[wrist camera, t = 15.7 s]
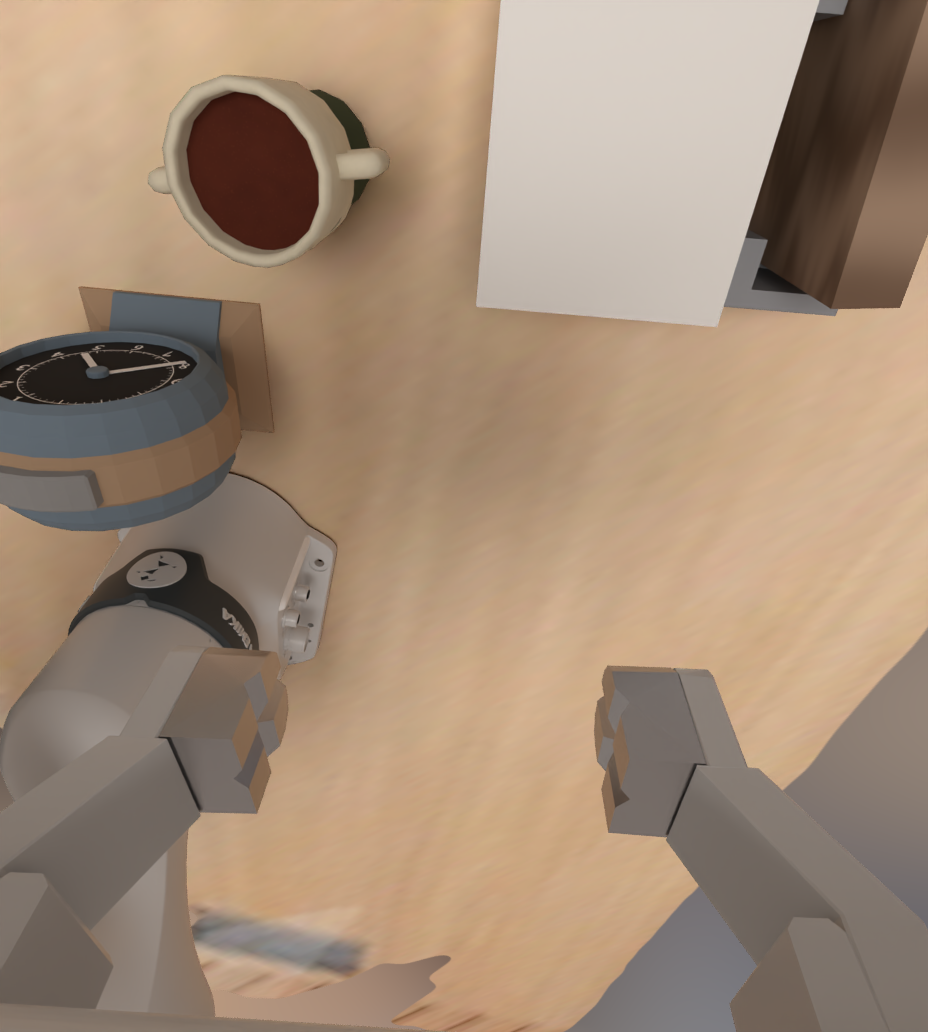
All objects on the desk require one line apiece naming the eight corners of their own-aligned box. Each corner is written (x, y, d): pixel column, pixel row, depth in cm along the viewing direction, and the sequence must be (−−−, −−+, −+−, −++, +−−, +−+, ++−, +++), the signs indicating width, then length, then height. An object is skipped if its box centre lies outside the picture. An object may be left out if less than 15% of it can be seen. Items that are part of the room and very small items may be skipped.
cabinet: (785, 283, 39) (872, 340, 30) (480, 257, 39) (476, 306, 30) (907, -53, 30) (1086, -118, 21) (509, -88, 30) (514, -168, 21)
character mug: (249, 225, 38) (153, 276, 28) (214, 88, 34) (87, 86, 24) (418, 213, 38) (386, 261, 27) (403, 71, 33) (360, 62, 23)
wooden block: (809, 250, 37) (922, 307, 27) (742, 252, 37) (831, 308, 27) (881, -8, 30) (1068, -58, 20) (798, -5, 30) (944, -52, 20)
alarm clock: (274, 305, 41) (154, 419, 27) (287, 432, 47) (193, 583, 32) (65, 285, 41) (-169, 388, 27) (103, 415, 47) (-74, 559, 32)
